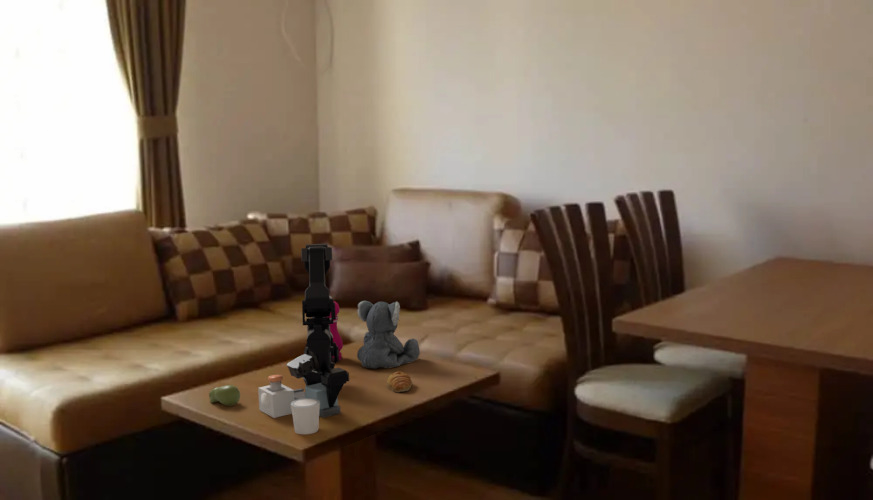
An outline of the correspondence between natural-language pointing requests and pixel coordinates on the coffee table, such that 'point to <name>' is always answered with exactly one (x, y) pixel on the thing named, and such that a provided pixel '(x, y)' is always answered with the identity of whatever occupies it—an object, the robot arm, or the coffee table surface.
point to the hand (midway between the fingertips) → (321, 402)
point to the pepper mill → (336, 331)
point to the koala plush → (384, 337)
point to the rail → (324, 412)
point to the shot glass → (305, 415)
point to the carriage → (318, 395)
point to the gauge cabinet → (275, 401)
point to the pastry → (399, 382)
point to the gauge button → (275, 382)
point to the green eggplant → (225, 395)
